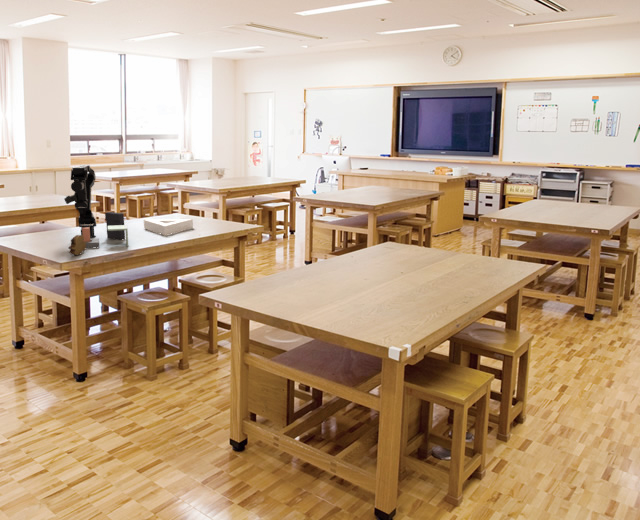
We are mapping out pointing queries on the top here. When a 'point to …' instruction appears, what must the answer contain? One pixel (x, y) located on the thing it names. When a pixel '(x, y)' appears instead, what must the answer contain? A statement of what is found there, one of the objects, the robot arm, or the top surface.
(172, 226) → the white slab
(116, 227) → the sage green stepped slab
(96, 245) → the socket block
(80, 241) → the wooden carving
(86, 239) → the peg
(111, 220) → the black flat block
